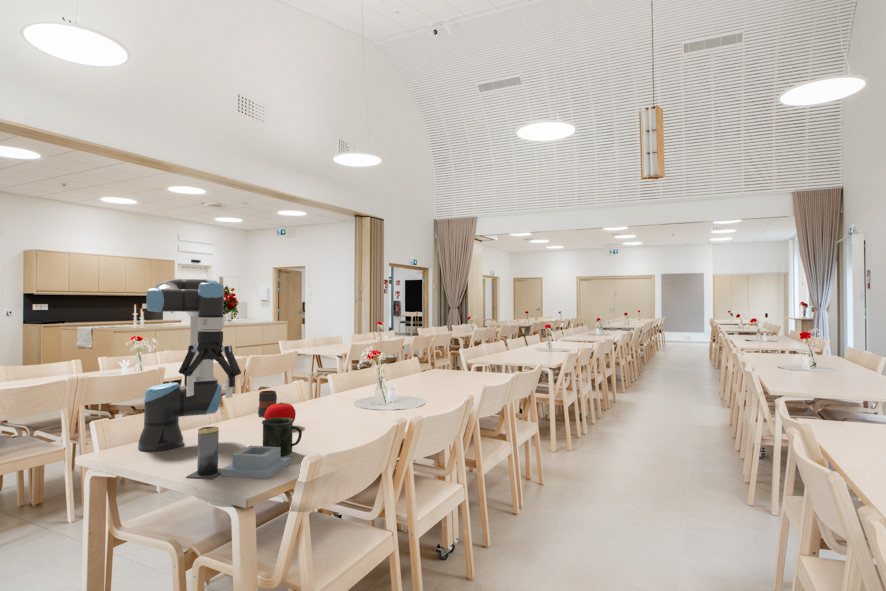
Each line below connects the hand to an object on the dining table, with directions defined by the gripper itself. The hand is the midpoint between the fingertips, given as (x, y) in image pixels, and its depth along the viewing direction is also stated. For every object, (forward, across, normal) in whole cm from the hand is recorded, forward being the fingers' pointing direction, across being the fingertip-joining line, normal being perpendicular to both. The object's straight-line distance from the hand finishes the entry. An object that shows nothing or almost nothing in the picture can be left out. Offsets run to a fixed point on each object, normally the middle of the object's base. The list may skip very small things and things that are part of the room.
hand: (209, 396), depth 165 cm
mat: (+25, 0, 0) cm, 25 cm away
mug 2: (+25, -23, +86) cm, 92 cm away
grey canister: (+24, 0, 0) cm, 24 cm away
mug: (+25, +13, +25) cm, 37 cm away
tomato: (+25, -6, +63) cm, 68 cm away
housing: (+25, +13, +7) cm, 29 cm away
